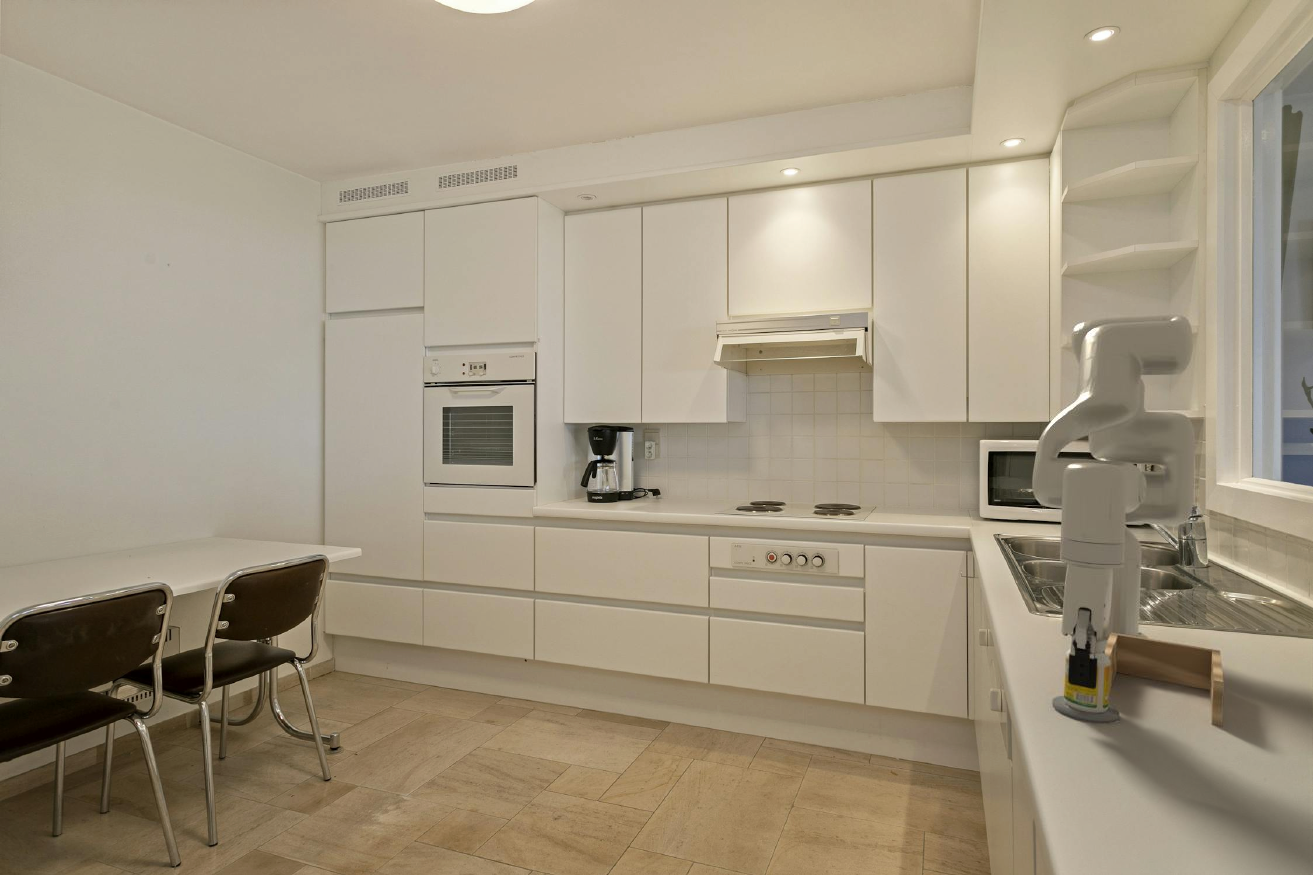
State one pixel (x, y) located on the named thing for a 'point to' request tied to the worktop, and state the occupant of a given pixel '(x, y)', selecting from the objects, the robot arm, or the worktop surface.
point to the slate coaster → (1104, 717)
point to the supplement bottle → (1090, 697)
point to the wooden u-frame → (1168, 665)
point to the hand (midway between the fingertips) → (1086, 675)
